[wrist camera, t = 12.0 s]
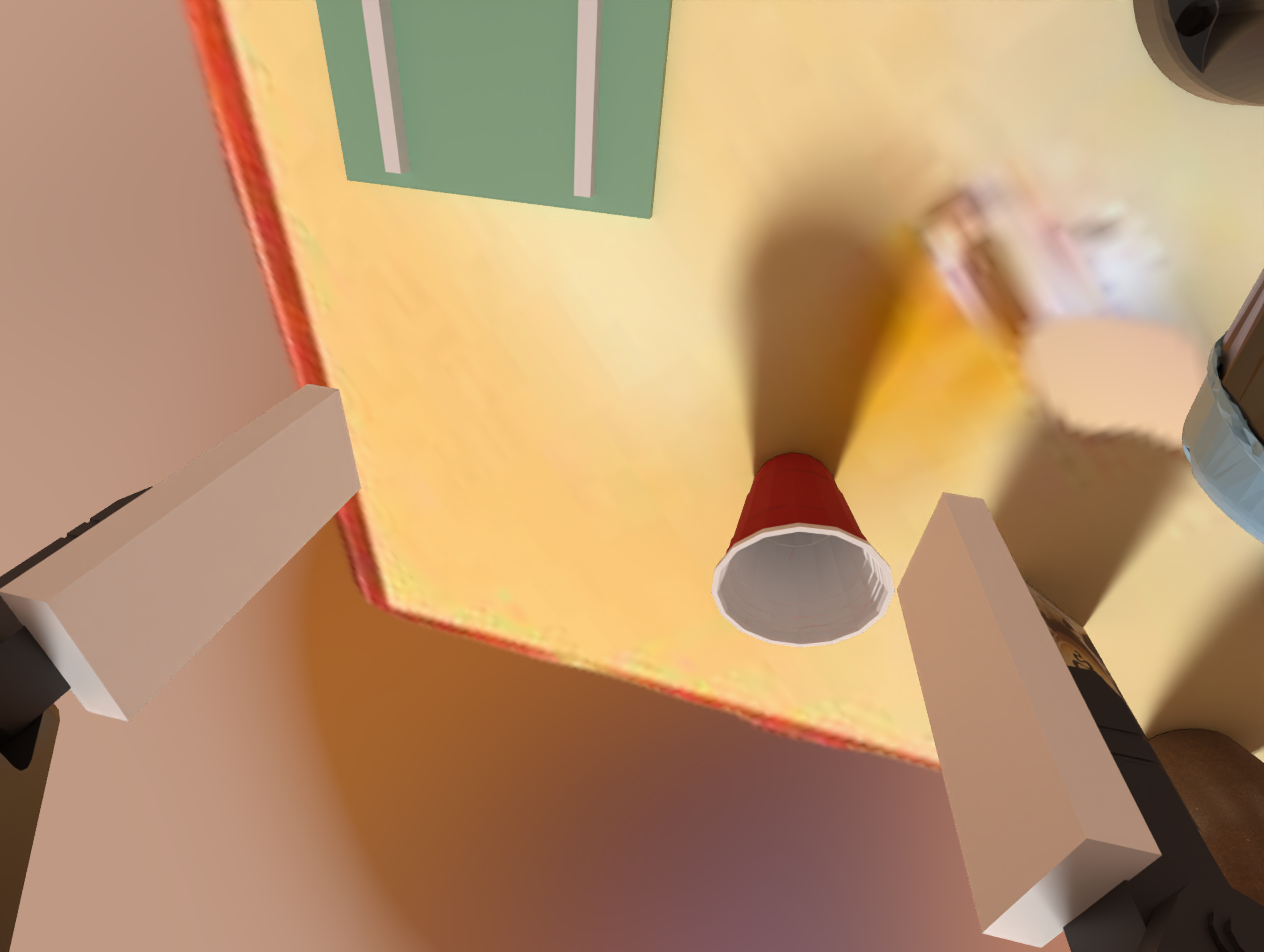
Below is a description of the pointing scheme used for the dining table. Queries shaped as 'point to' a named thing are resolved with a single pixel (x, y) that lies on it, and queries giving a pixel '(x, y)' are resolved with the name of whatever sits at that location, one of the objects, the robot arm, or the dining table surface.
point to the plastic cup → (800, 561)
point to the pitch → (502, 97)
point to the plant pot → (1221, 800)
